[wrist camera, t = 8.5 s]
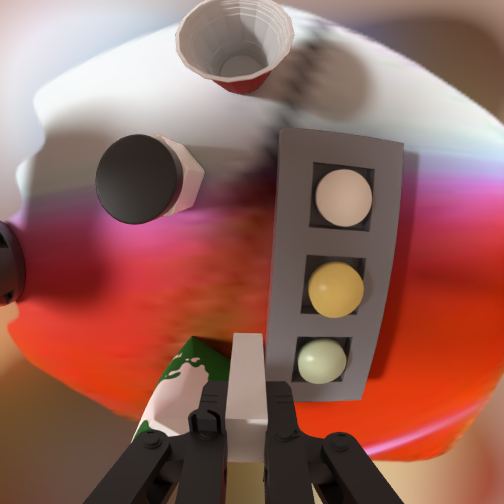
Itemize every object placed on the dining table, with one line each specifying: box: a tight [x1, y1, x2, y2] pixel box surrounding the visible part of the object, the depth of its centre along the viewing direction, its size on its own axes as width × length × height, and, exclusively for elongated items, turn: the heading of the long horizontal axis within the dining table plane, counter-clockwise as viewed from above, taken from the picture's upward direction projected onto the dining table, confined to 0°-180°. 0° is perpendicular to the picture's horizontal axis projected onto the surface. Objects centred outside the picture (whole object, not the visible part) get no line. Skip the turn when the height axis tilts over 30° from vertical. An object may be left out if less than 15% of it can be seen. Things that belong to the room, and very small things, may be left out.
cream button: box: [314, 169, 372, 227], centre depth 32 cm, size 6×6×2 cm
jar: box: [96, 134, 205, 225], centre depth 31 cm, size 9×8×12 cm
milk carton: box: [131, 336, 231, 443], centre depth 33 cm, size 9×9×20 cm
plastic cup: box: [175, 0, 294, 94], centre depth 27 cm, size 11×11×12 cm
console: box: [264, 127, 404, 402], centre depth 36 cm, size 14×34×5 cm, turn 177°
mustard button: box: [308, 261, 364, 318], centre depth 33 cm, size 6×6×2 cm
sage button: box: [297, 337, 346, 384], centre depth 36 cm, size 6×6×2 cm
